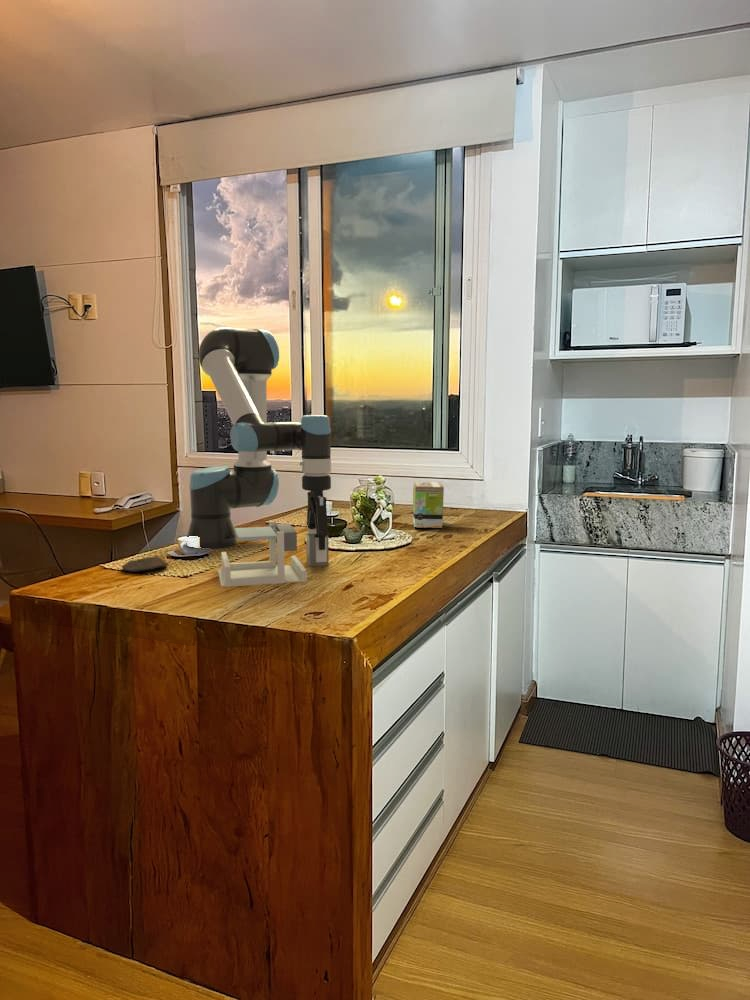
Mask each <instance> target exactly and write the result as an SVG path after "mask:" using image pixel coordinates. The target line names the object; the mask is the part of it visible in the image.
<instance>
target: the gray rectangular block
mask: <svg viewBox="0 0 750 1000" xmlns="http://www.w3.org/2000/svg"><path fill="white" fill-rule="evenodd" d="M315 534H317V533H315ZM315 534H308V533H305V536H306V538H305V539H306V541H305V542H306V544H305V545H306V548H305V549H306V563H307V565H308V566H309V567H317V566H318V567H320V566H323V567H324V566H329V565H330V564H329V557H330V556H329V535H328V536H327V562H316V538H314V535H315Z"/></svg>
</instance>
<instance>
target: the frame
mask: <svg viewBox="0 0 750 1000" xmlns="http://www.w3.org/2000/svg"><path fill="white" fill-rule="evenodd" d="M275 524H277V523H276V520H268V527H271V528H272V529H273V531H274V532H275V533H276V535H277V543H276V539H268V541H269V543H268V544H269V545H268V546H269V560H266V561H265V560H264V561H262V560H261V561H246V562H230V561H229V558H228V553H227V551H221V552H220V553H221V555H220V556H221V559H220V560H221V568H220V569H217V573H218V579H219V582H220V587H222V588H229V587H241V586H259V585H260V586H261V585H273V584H276V585H277V584H287V583H301V582H302V583H306V582H308V581H307V580H308V576H307V573H308V572H307V571H308V570H307V569H306V567H304V565H303V564H302V562H301V561H300V559H299V558H298V557H297V556H296V555H291V556H290V565H285V551H284V532H283V531H280V532H277V531H276V529H275Z"/></svg>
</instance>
